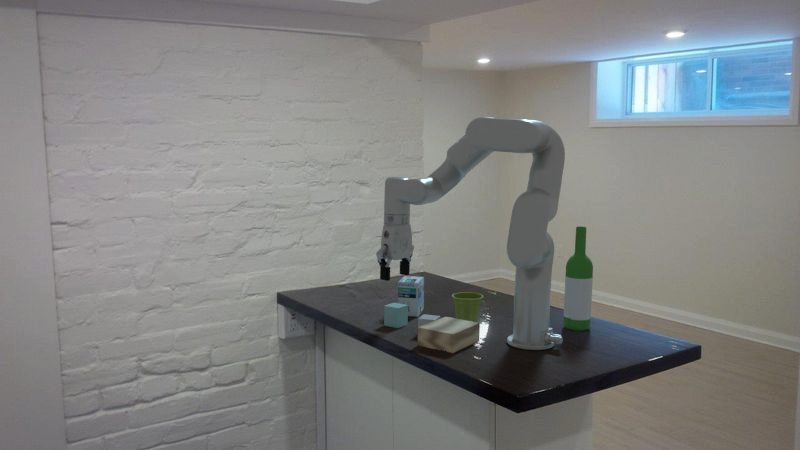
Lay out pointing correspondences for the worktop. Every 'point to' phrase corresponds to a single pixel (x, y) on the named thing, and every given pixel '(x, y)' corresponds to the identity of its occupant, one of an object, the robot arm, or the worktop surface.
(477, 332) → the oak pedestal
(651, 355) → the worktop surface
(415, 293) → the light bulb box
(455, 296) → the plant pot
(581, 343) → the worktop surface
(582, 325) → the wine bottle
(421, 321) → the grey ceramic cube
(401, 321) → the teal block
